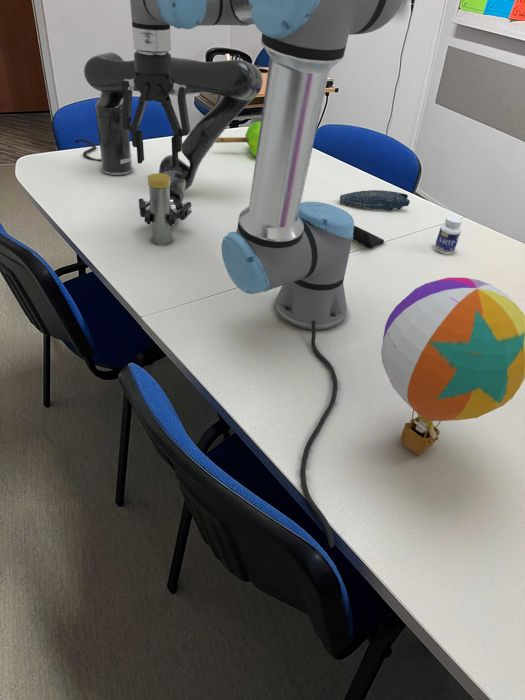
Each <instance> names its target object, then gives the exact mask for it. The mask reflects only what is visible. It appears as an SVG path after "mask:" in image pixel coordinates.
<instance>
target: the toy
mask: <svg viewBox="0 0 525 700" xmlns="http://www.w3.org/2000/svg"><path fill="white" fill-rule="evenodd" d="M381 343H382V344H381V351H380V355H381V363H382V366H383V369H384V371H385V374H386V375H387V378H388V380H389V382H390V384H391V386H392V388H393V389H394V391H395V392H396V393H397V395H399V397H400V398H401V399H402V400H403V401H404V402H405V403H406V404H407V405H408V406H409V407H410V408H411V409H412V414H411V418H410V421H409V422H405V423H404V427H403V428H402V432H401V437H400V443H401V444H402V445H403V446H404V447H406V449H408V450H410V451H411V452H412V453H413V454H415V455H416V456H422V455H423V454H424V453H425V452H427V451H428V450H429V449H430V448H431V447H433V446H434V444H435V443H436V441H439V435H440V430H439V428H438V426H440V424H441V422H451V421H453V422H454V421H463V420H470V419H477V418H480V417H482V416H484V415H486V414H488V413H490V412H493V411H495V410H497V409H499V408H501V407H504V406H505V405H506V404H507V403H508V402H509V401H511V400H512V399H513V398H514V397H515V395H516V393H517V392H518V391H519V389H520V388H521V386H522V384H523V383H524V381H525V313H524V312H523V311H522V309H521V308H520V307H519V306H518V305H517V304H516V302H514V300H513V299H512V298H511V297H510V296H509V295H508V293H506V292H504V291H502V290H501V289H499V288H498V287H496V286H494V285H493V284H490V283H488V282H485V281H483V280H479V279H475V278H469V277H445V278H440V279H437V280H433V281H430V282H426V283H424V284H422V285H420V286H418V287H416V288H414V289H413V290H412V291H411V292H410V293H409V294H407V296H405V298H403V299H402V300H401V301H400V302H398V304H397V305H396V306H394V308H393V310H392V311H391V312H390V314H389V316H388V318H387V320H386V322H385V325H384V331H383V338H382V342H381ZM414 412H416V414H417V416H416V417H414V414H415V413H414ZM433 422H438V423H437V425H436V426H435V424H434V423H433Z"/></svg>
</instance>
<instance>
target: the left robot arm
mask: <svg viewBox="0 0 525 700" xmlns="http://www.w3.org/2000/svg"><path fill="white" fill-rule="evenodd" d="M171 66H172V79H173V81H174V83H176V84H179V85H186V86H187V91H186V96H189V95H196V94H213V95H218V96H222V97H221V99H220V100H219V101H218V102H217V103H216V104H215V106H214V107H213V108H211V110H209V112H207V113H206V114H205V115H204V116H203V117H202V118H200V120H199V121H198V122H197V123H196V124H195V125H194V126H193V127H192V128H191V129H190V132H189V134H188V135H187V136H186V138H185V139H184V140H183V141H182V150H181V153H182V154H183V156H184V157H185V158H186V160H187V161H188V163H189V165H188V164H187V163H185V162H184V161H183V160H181V159H180V158H178V165H177V166H176V168H175V167H172V154H170V155H166V156H165V157H163V158H162V160H161V162H160V164H159V167H158V173H161V174H166V175H168V176H170V211H171V214H170V216H169V226H171V227H173V226H174V225H175V224H176V223H177V221H178V220H181V221H184V220H186V219H187V217H189V216H190V214H191V213H192V202H190V201H187V202H186V203H183V200H184V197H185V191H186V190H188V189H190V188H191V187H192V186H193V184H194V182H195V178H196V175H197V172H198V169H199V167H200V165H201V164H202V162H203V160H204V158H205V157H206V155H208V153H209V152H210V149H211V148H212V147H213V146H214V144H216V143H215V142H216V140H217V139H218V138H220V136H221V135H222V134H223V133H224V131H225V130H226V129H227V128H228V126H229V125H230V124H231V123H232V122H233V121H234V120H235V119H236V117H237V116H238V115H239V114H240V113H241V112H242V111H243V110H244V109H245V108H246V107H247V106H248V105H249V104H250V103H252V102H253V100H254V99H255V98H256V97H257V96H258V95H259V94H260V92H261V90H262V88H263V83H264V79H263V75H262V73H261V71H260V69H259V68H258V67H257V66H256V65H254V64H252V63H250V62H248V61H246V60H243V59H229V60H217V61H199V60H196V59H190V58H183V57H182V58H181V57H172V56H171ZM83 75H84V78H85V80H86V82H87V83H88V84H89V85H90V86H91V87H92V88H93V89H94V90H96V91H99V92H100V96H99V97H98V99H97V101H96V102H95V106H94V108H95V117H96V126H97V134H98V142H99V151H100V158H94V157H91V156H89V155H87V154H89V153H90V152H92V151H95V150H96V148H97V145H96V144H95V143H94V142H92V141H90V140H88V139H85V138H77V139H75V141H74V143H75V144H77V143H79V142H84V143H87V144H89V145H91V146H92V147H91V148H89V149H86V150H84V152H82V155H83V157H85V158H86V159H87V160H90V161H95V162H101V169H102V171H101V172H103V173H104V174H105V175H109V176H125V175H129V174H131V173H132V172H133V166H132V153H131V152H132V151H131V141H130V140H131V139H130V131H129V130H127V129H123V127H122V118H123V95H124V93H123V89H122V85H121V82H122V81H123V80H125V79H129V80H130V79H134V77H135V62H134V60H124V59H123V58H122V57H121V56H120V55H119V54H117V53H115V52H105V53H101V54H97V55H94V56H92V57H90V58H88V60H87V61H86V63H85V64H84V68H83ZM132 92H139V90H138V89H137V87H136V86H135V85H134V89H133V90H132ZM169 96H176V94H175V90H174V89H172V91H171V92H170V94H169ZM138 209H139V215H140V218H144V223H146V225H149V226H150V225H152V223H151V207H150V199H149V200H148V201H147V200H144V198H138Z"/></svg>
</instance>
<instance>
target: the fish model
mask: <svg viewBox="0 0 525 700" xmlns="http://www.w3.org/2000/svg"><path fill="white" fill-rule="evenodd" d="M410 202H411V201H410V200H409V195H408V194H406V193H403V192H402V193H401V192H399V191H392V190H382V189H380V190H379V189H377V190H376V189H368V190H360V191H352V192H348V193H344V194H341V195H340V196H339V203H343V204H346V205H349V206H351V207H357V208H362V209H371V210H372V209H374V210H384V211H385V210H386V211H391V210H394V209H397V210H402V208H404V207H408V206H409V205H410Z"/></svg>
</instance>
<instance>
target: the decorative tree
mask: <svg viewBox="0 0 525 700" xmlns="http://www.w3.org/2000/svg"><path fill="white" fill-rule="evenodd" d="M260 125H261V120H257V121H255V122H254V123H252V124H250V125H249V126H248V128H247V130H246V133H245V135H244V137H243V136H242V137H237V136H236V137H218V139H217V140H216V142H215V143H214V144H218V143H219V144H220V143H247V145H248V147H249V150H250V151H251V154H252V155H253V156H255V157H256V154H257V147H258V139H259V132H260Z"/></svg>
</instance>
